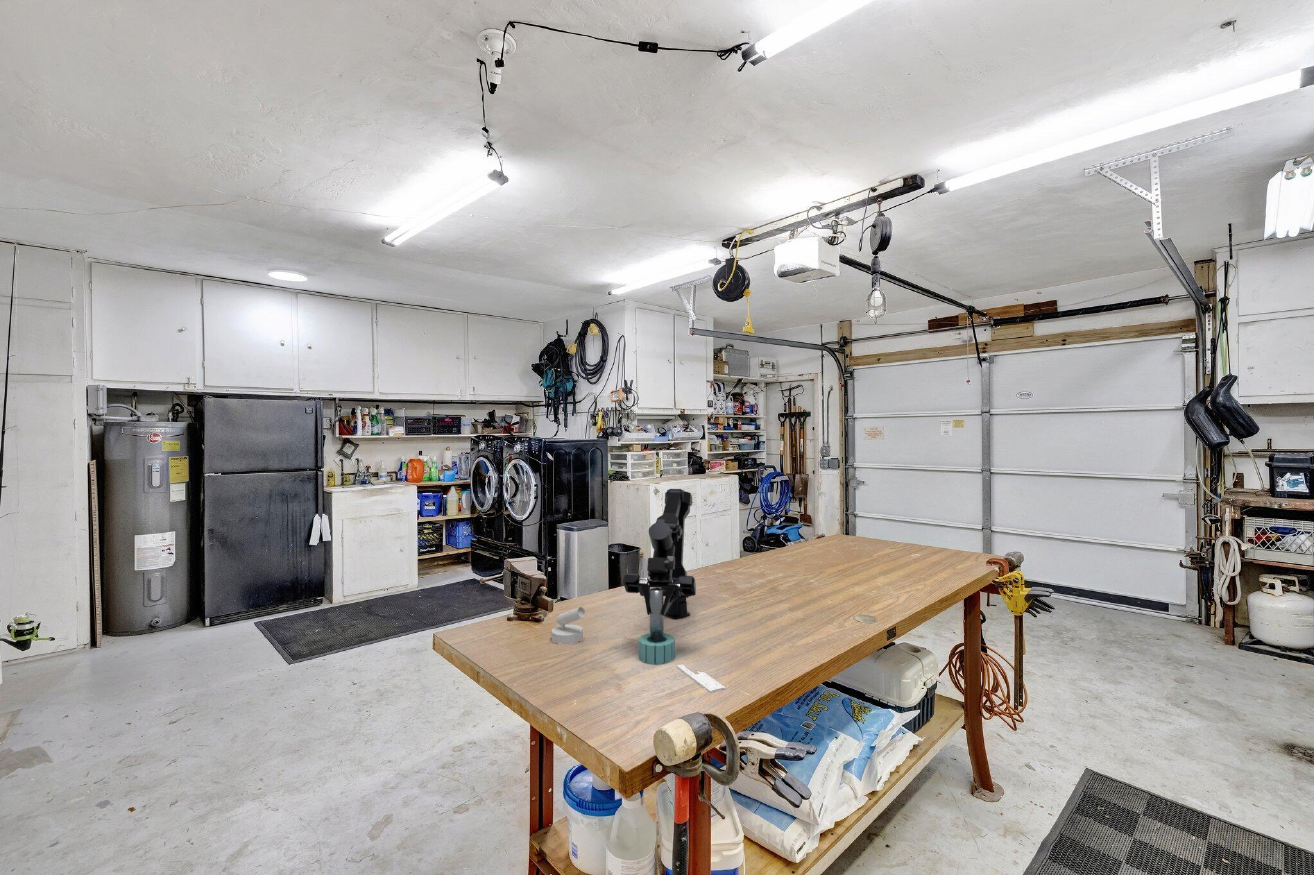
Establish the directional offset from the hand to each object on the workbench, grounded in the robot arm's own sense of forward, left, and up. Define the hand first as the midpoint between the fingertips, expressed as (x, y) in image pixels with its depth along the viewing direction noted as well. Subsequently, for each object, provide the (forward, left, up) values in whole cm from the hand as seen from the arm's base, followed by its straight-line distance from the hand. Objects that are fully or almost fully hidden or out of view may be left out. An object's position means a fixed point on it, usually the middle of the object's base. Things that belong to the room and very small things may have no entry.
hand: (655, 614), depth 139 cm
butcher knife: (+15, +1, -12) cm, 19 cm away
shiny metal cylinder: (-1, +1, -7) cm, 7 cm away
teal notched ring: (-1, +1, -11) cm, 11 cm away
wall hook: (-26, -10, -11) cm, 30 cm away
